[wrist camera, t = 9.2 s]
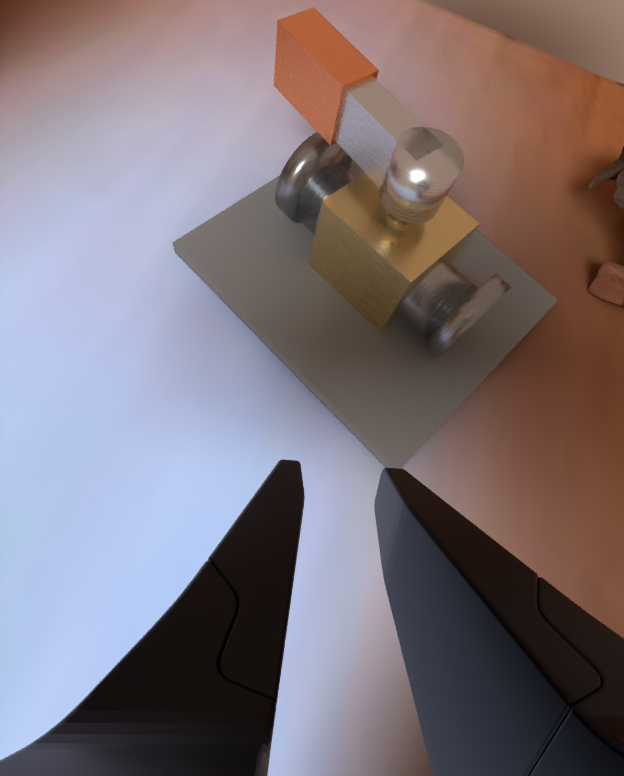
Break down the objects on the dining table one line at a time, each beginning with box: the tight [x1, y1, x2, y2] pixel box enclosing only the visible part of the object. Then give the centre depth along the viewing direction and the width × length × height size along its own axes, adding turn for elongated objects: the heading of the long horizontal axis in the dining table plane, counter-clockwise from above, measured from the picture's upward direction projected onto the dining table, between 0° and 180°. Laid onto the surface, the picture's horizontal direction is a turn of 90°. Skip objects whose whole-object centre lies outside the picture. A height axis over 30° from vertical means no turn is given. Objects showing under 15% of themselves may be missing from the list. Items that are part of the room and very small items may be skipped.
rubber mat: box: [173, 159, 558, 469], centre depth 25 cm, size 17×15×1 cm
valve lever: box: [274, 8, 464, 224], centre depth 19 cm, size 10×3×3 cm, turn 38°
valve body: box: [275, 132, 511, 359], centre depth 22 cm, size 12×5×6 cm, turn 44°
